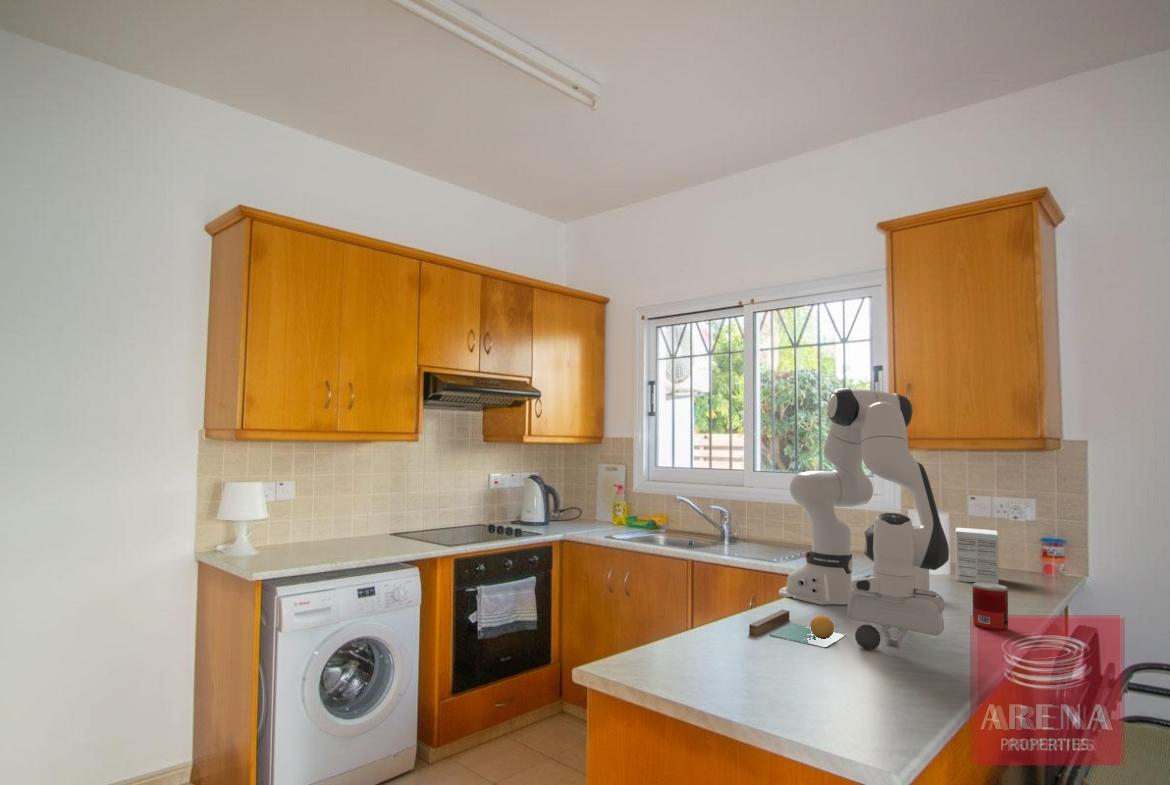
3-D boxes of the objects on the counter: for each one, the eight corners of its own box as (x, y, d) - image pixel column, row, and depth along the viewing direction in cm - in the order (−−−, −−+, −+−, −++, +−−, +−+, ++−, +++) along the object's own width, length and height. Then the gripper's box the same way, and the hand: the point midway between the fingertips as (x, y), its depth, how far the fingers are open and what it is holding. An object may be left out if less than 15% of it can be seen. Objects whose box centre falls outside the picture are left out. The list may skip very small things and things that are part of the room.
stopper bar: (749, 634, 165) (749, 624, 165) (782, 618, 180) (782, 609, 181) (756, 636, 164) (756, 626, 164) (789, 620, 179) (789, 610, 179)
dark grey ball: (882, 641, 152) (869, 658, 154) (887, 632, 156) (874, 649, 158) (861, 624, 154) (848, 641, 156) (866, 616, 159) (853, 633, 161)
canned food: (1013, 632, 173) (1012, 589, 173) (979, 630, 174) (978, 587, 175) (1001, 624, 180) (1000, 583, 181) (968, 622, 182) (968, 581, 182)
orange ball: (832, 637, 159) (812, 643, 162) (841, 633, 163) (821, 638, 166) (823, 614, 161) (803, 620, 164) (831, 610, 165) (812, 616, 168)
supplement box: (956, 574, 247) (955, 526, 248) (998, 579, 241) (997, 530, 242) (955, 580, 236) (954, 530, 237) (999, 586, 229) (998, 534, 230)
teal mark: (769, 635, 165) (769, 634, 165) (792, 624, 176) (792, 623, 176) (826, 648, 156) (826, 647, 156) (846, 635, 167) (846, 634, 167)
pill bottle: (927, 594, 213) (926, 547, 214) (931, 600, 206) (930, 551, 207) (899, 592, 216) (899, 545, 217) (903, 597, 208) (902, 549, 209)
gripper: (947, 590, 150) (947, 653, 149) (853, 576, 163) (853, 634, 162) (940, 595, 145) (941, 660, 144) (844, 580, 158) (844, 640, 157)
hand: (894, 646), depth 153 cm, fingers closed
